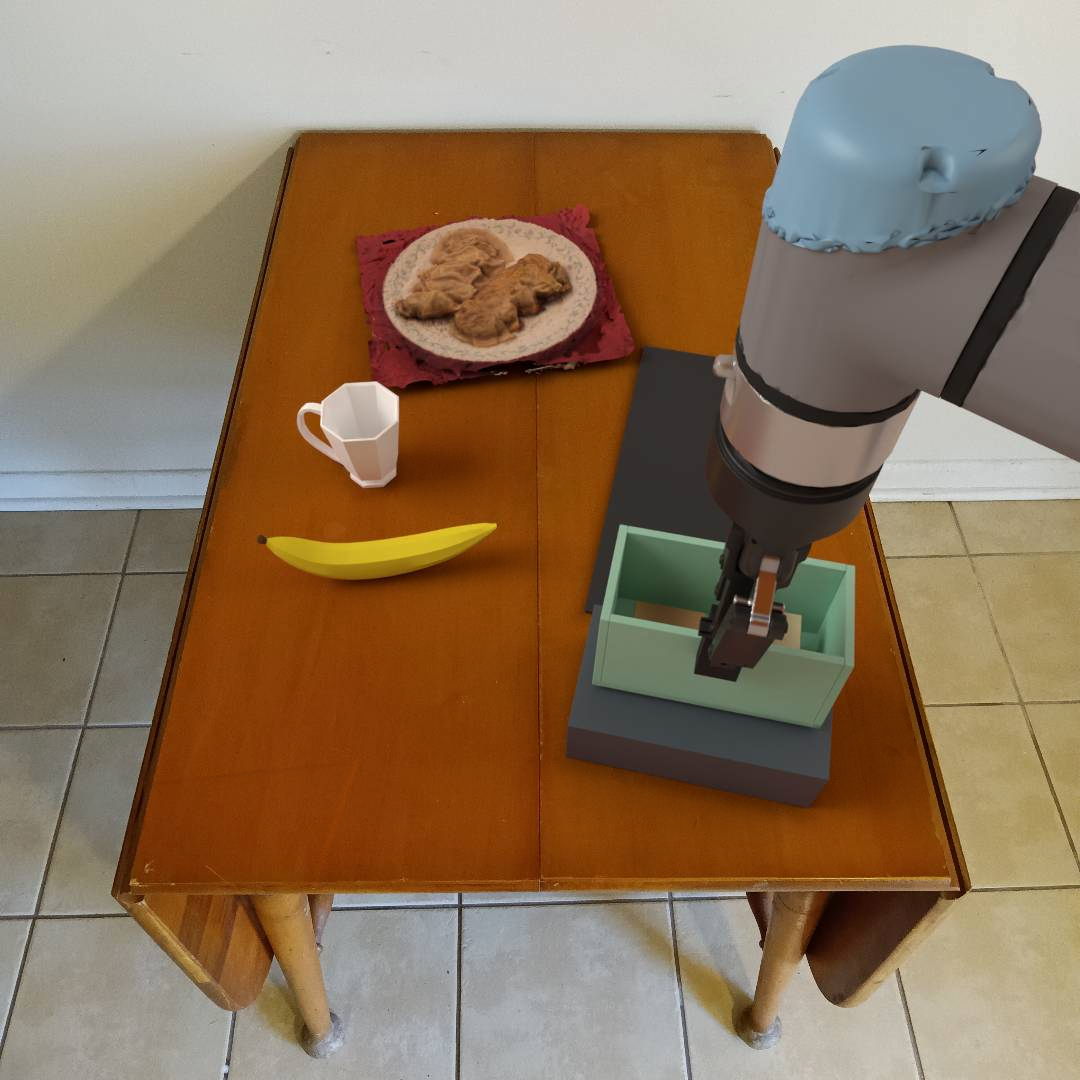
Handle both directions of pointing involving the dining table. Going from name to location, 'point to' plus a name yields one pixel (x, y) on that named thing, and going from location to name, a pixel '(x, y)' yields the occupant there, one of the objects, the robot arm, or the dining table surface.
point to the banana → (377, 552)
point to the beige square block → (791, 632)
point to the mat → (664, 457)
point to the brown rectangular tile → (667, 615)
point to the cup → (358, 431)
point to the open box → (689, 583)
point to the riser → (695, 740)
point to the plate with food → (488, 298)
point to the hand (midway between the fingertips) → (716, 667)
